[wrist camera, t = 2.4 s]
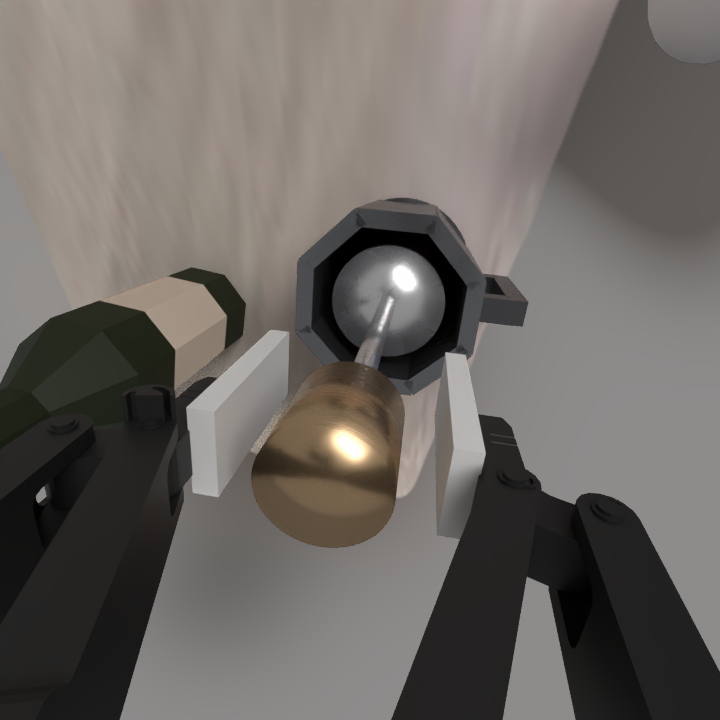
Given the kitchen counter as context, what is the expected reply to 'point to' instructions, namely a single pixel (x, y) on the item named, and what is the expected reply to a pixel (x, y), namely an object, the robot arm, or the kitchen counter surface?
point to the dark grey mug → (445, 252)
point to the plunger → (351, 407)
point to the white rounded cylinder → (687, 29)
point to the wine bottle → (119, 350)
